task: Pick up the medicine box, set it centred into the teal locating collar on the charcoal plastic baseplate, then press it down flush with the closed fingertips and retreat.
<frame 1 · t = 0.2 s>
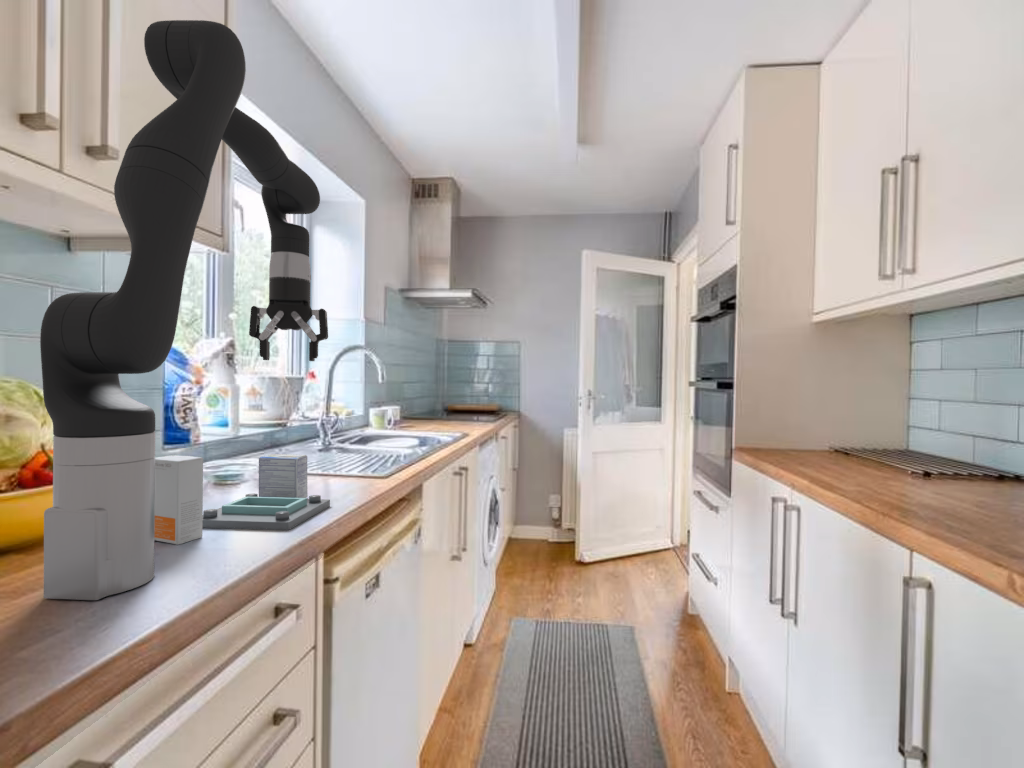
hand: (289, 360, 105), 27 cm above the counter, fingers open, 8 cm apart
medicine box: (283, 501, 103), on the counter
skincare box: (175, 540, 78), on the counter
baseplate: (265, 515, 91), on the counter
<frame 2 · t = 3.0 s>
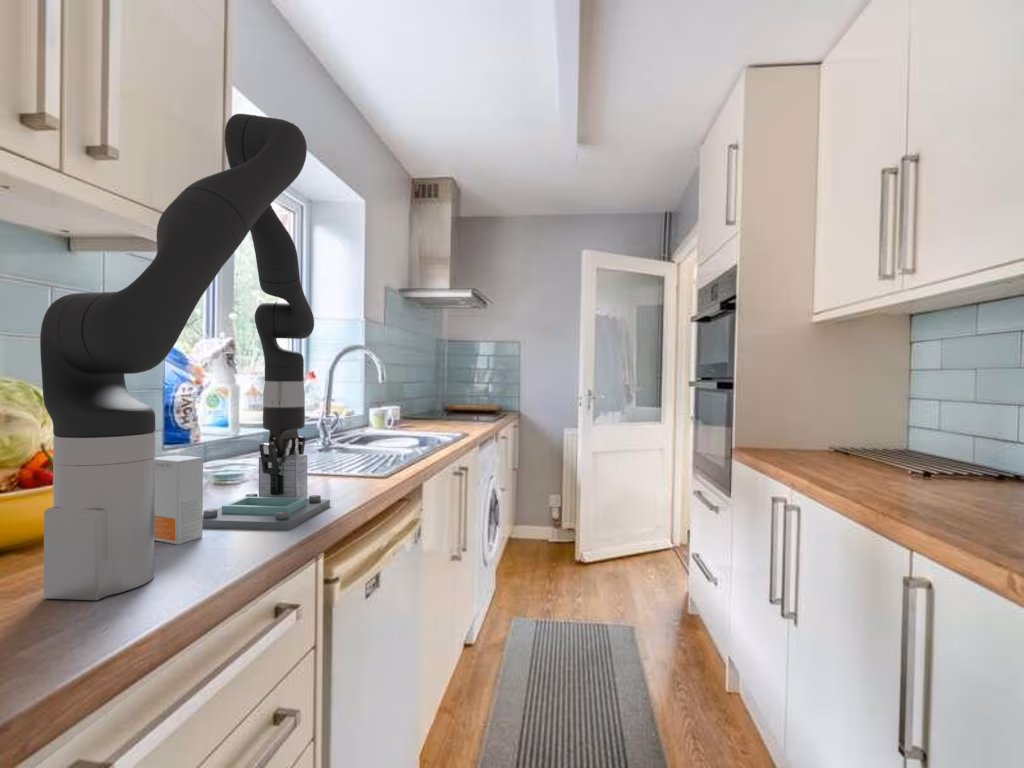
hand: (283, 491, 103), 2 cm above the counter, fingers closed on medicine box, 4 cm apart
medicine box: (283, 500, 103), on the counter, touching gripper
everything else where it was.
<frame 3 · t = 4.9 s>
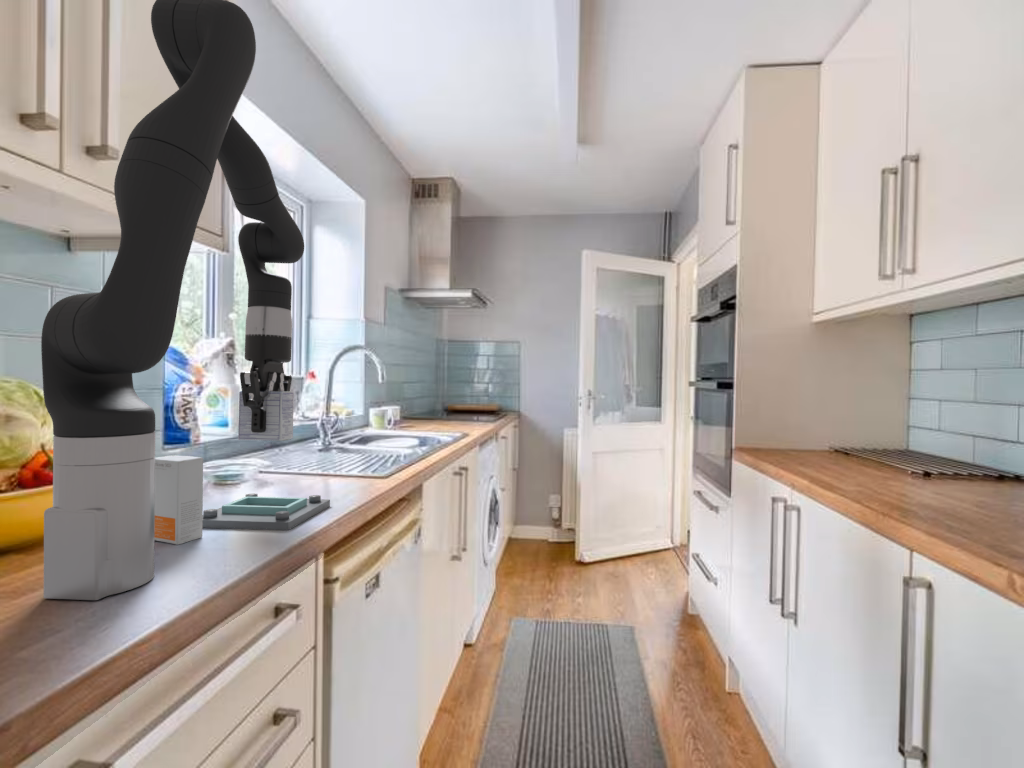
hand: (266, 430, 93), 14 cm above the counter, fingers closed on medicine box, 4 cm apart
medicine box: (265, 441, 93), point 13 cm above the counter, touching gripper
everything else where it was.
when the fingers open (4 cm above the counter, at t = 7.0 s): medicine box stays where it is, resting on baseplate.
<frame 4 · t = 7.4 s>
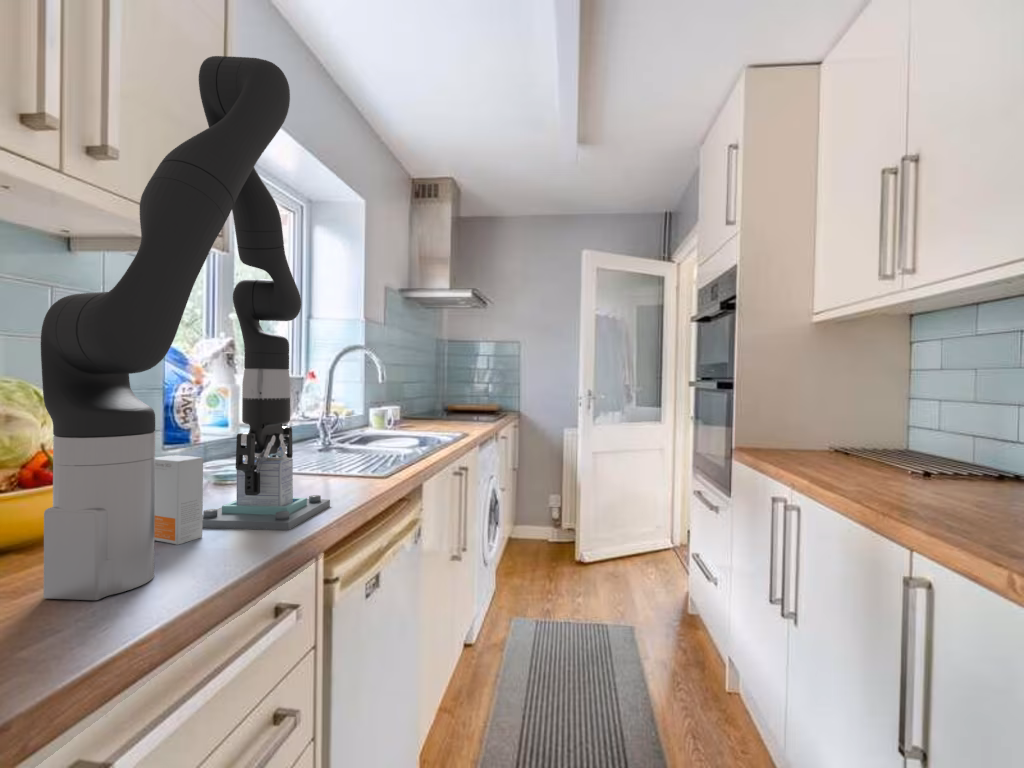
hand: (266, 489, 91), 4 cm above the counter, fingers open, 8 cm apart
medicine box: (265, 510, 91), point 1 cm above the counter, touching baseplate
everything else where it was.
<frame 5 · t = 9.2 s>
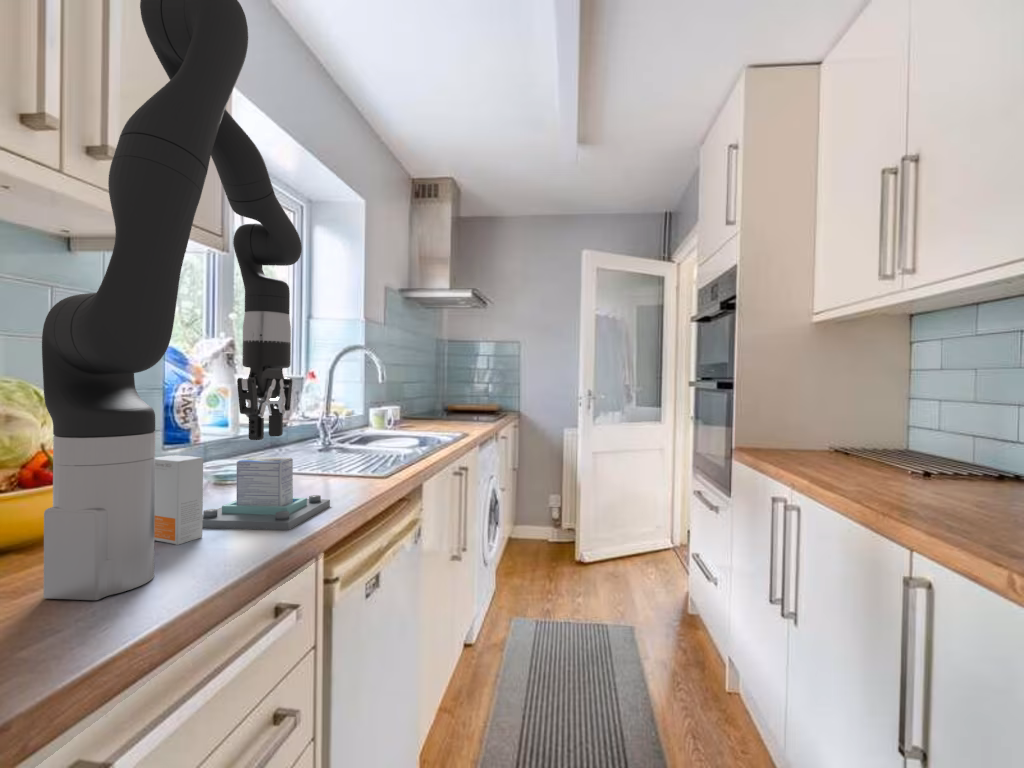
hand: (266, 437, 91), 13 cm above the counter, fingers open, 5 cm apart
nothing on the counter moved.
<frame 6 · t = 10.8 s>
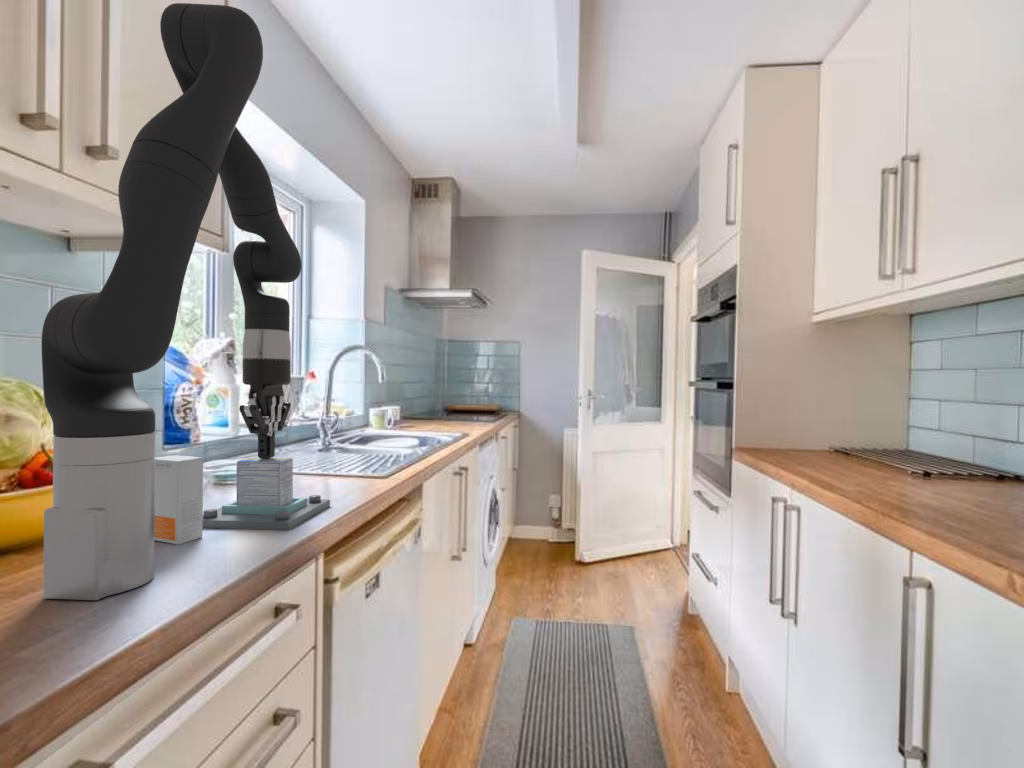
hand: (266, 457, 91), 10 cm above the counter, fingers closed
nothing on the counter moved.
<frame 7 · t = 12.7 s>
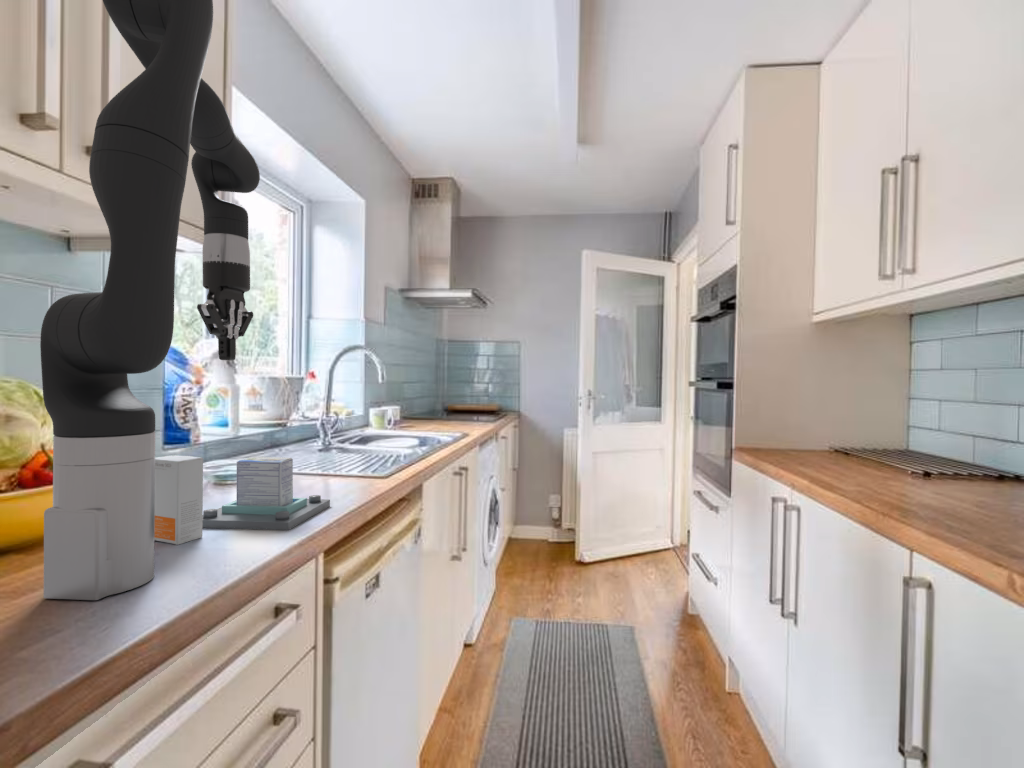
hand: (227, 359, 95), 27 cm above the counter, fingers closed
nothing on the counter moved.
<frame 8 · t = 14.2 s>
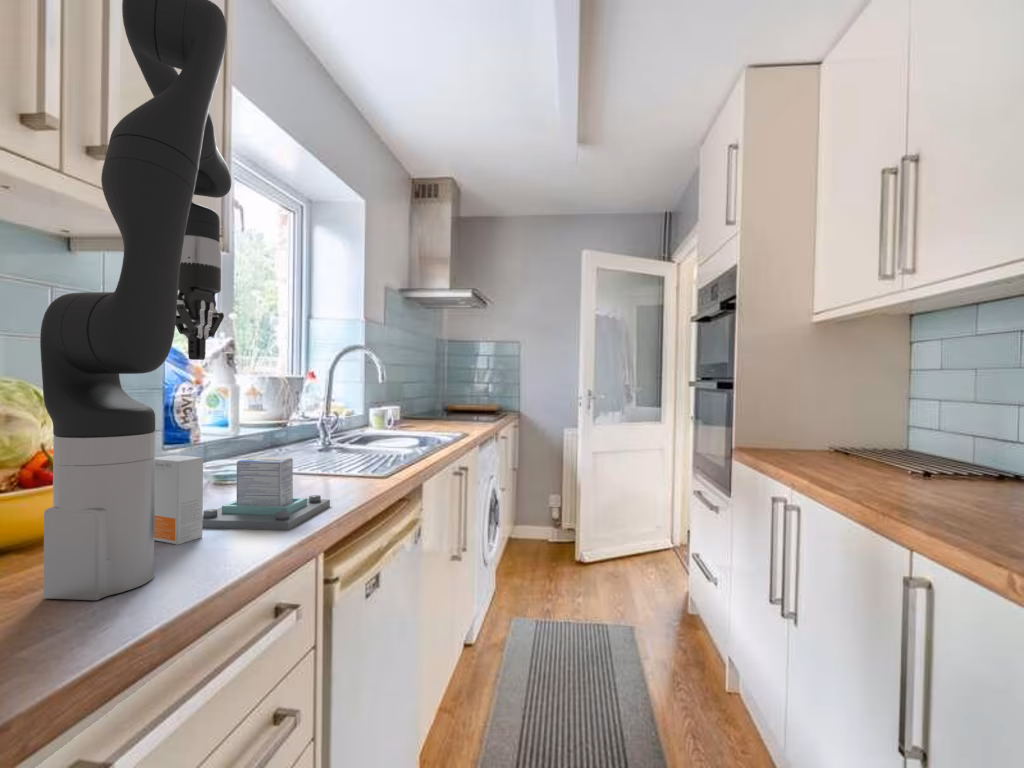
hand: (196, 359, 97), 27 cm above the counter, fingers closed
nothing on the counter moved.
at the end: medicine box 0.3 cm off-centre on the baseplate, point 1.0 cm above the baseplate's base; medicine box tilted 0°; the gripper is holding nothing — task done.
